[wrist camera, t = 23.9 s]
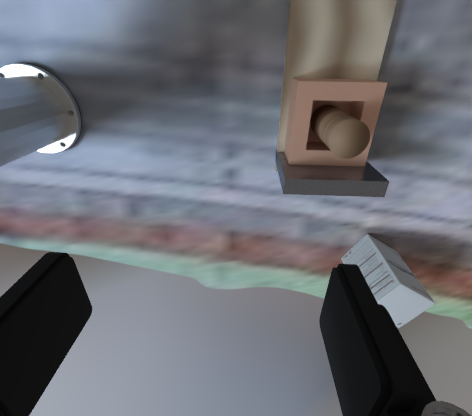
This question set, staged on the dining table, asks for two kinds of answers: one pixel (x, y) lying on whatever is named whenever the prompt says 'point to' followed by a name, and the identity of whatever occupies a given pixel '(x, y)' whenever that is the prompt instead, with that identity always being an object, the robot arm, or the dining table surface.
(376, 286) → the supplement box
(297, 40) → the board
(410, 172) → the dining table surface
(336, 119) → the dowel
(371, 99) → the carriage
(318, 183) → the wall
